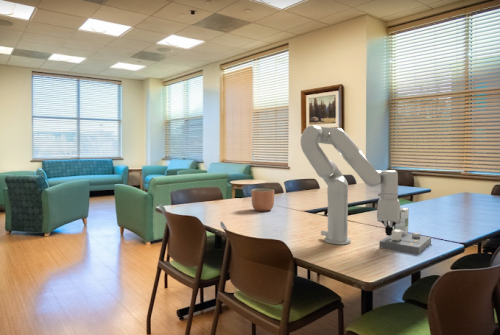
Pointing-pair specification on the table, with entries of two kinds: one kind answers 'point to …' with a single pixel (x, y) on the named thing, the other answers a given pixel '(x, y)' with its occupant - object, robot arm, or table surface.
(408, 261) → the table surface
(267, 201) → the planter
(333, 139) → the robot arm
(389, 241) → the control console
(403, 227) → the syrup box
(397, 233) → the fader tab
